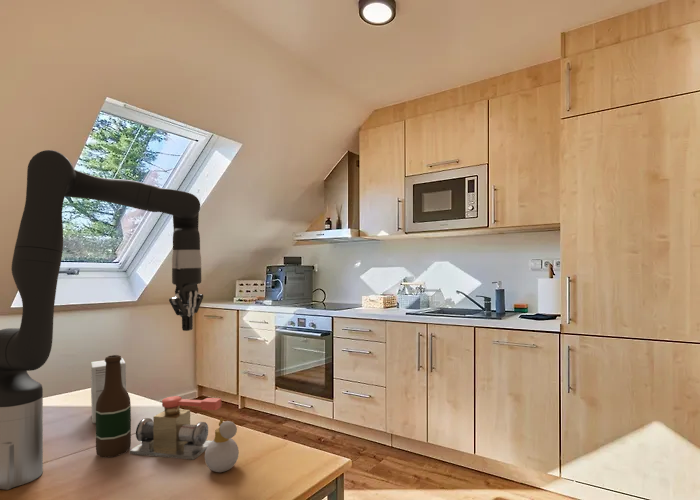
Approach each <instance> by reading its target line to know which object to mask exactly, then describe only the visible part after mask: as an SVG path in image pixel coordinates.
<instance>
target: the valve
mask: <svg viewBox="0 0 700 500" xmlns="http://www.w3.org/2000/svg"><path fill="white" fill-rule="evenodd" d="M163 408H164V410H163V411H162V412H160V413H158V414H156V415H154V416H153V419H152V418H150V417H145V418H142V419H141V420H140V421H139V422H138V424H137V426H136V430H135V438H136V440H137V441H139V442H141V443H139V444H138V445H136V446H134V447H133V448H130V449H128V451H129V454H130V455H138V456H140V455H141V456H147V457H148V456H150V457H159V458H160V457H162V458H172V459H173V458H175V459H184V460H195V459H197V458H199V456H201V455H202V454H203V453H205V451H206V448H207V446H208V445H209V444H210V442H212V441H213V440H207V438H208V435H209V424H208V423H207V422H206V421H199V422H198V423H196V424H191V409H182V408H180V405H179V406H176V407H170V408H166V407H163Z"/></svg>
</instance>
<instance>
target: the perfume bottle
mask: <svg viewBox="0 0 700 500" xmlns="http://www.w3.org/2000/svg"><path fill="white" fill-rule="evenodd" d="M214 430H215V431H214V438H213V440H211V441H212V442H210V444H209V445H208V446H207V448H206V451H204V461H205V462H204V463H205V464H206V466H207V468H208V469H210V470H211V471H212V472H216V473H222V472H223V473H225V472H226V471H230V469H232V468H233V467H234V466H235V464H236V463H237V461H238V459H239V453H240V452H239V446H238V444H237V442H236V441H235V440H234V439H233V437H235V436H236V434H237V430H238V427H237V425H236V424H235V423H234V422H233V421H231V420H225V421H224V419H223V417H220V419H219V422H218V428H216V429H214Z"/></svg>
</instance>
